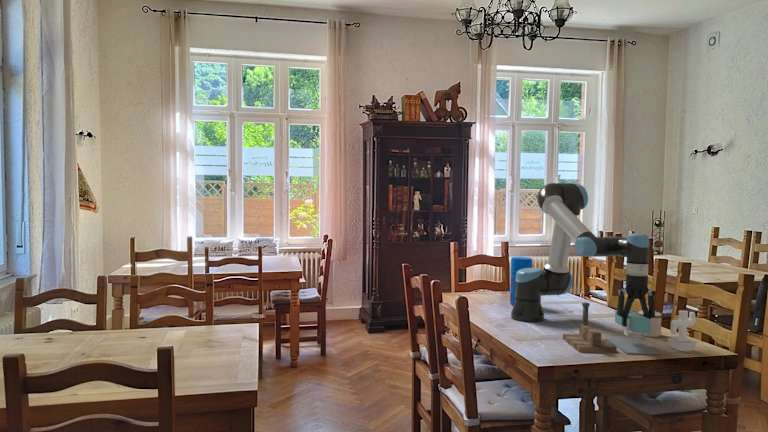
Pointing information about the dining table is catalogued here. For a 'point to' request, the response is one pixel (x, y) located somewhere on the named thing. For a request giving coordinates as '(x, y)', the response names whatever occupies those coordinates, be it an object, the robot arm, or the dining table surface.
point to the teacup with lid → (654, 324)
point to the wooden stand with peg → (588, 337)
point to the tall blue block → (516, 265)
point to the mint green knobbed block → (635, 322)
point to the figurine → (682, 332)
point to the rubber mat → (632, 346)
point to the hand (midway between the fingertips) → (635, 334)
